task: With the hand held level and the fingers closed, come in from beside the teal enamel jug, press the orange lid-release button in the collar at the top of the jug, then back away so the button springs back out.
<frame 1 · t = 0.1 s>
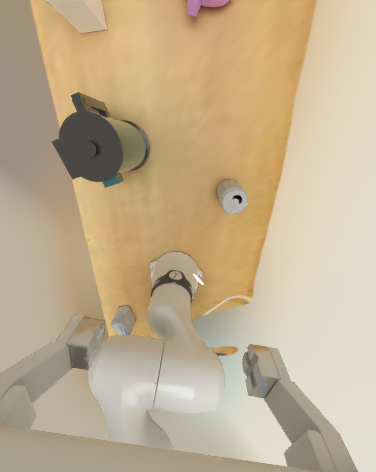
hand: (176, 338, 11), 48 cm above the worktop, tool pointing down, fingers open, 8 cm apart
milk: (90, 12, 40), on the worktop
jug: (127, 146, 51), on the worktop
beverage can: (227, 190, 54), on the worktop
medicine box: (127, 312, 78), on the worktop
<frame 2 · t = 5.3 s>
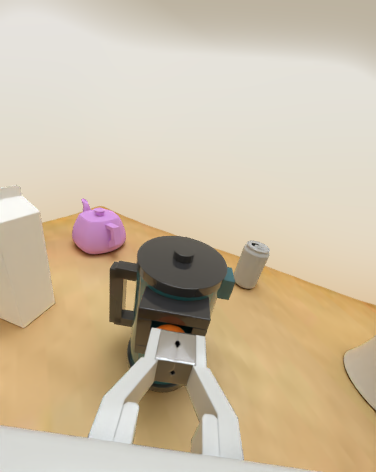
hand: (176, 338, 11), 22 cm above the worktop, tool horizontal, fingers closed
milk: (27, 310, 34), on the worktop
jug: (163, 351, 32), on the worktop
jug button: (168, 342, 19), point 14 cm above the worktop, slide at -0.1 cm
beverage can: (243, 282, 54), on the worktop
teapot: (99, 243, 57), on the worktop
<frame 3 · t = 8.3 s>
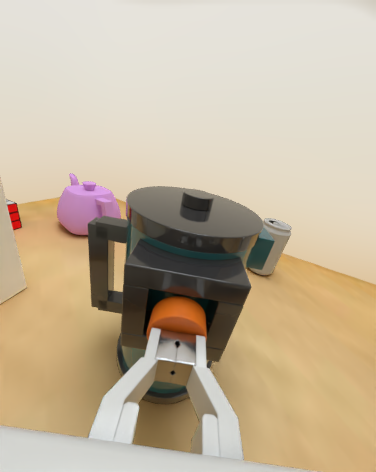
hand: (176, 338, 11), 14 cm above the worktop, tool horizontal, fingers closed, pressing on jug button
jug: (165, 347, 24), on the worktop
jug button: (177, 326, 11), point 14 cm above the worktop, slide at 0.0 cm, touching gripper
beverage can: (257, 269, 46), on the worktop
teapot: (89, 225, 49), on the worktop
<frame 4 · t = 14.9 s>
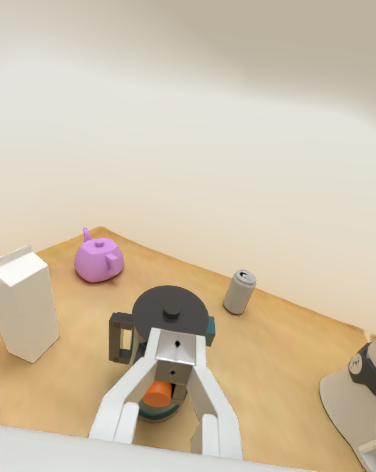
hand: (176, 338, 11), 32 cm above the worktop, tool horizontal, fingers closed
milk: (35, 344, 39), on the worktop
jug: (156, 382, 36), on the worktop
jug button: (157, 392, 23), point 14 cm above the worktop, slide at -0.1 cm
beverage can: (233, 307, 58), on the worktop
teapot: (99, 269, 61), on the worktop
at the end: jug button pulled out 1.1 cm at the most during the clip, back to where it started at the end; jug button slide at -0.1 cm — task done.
